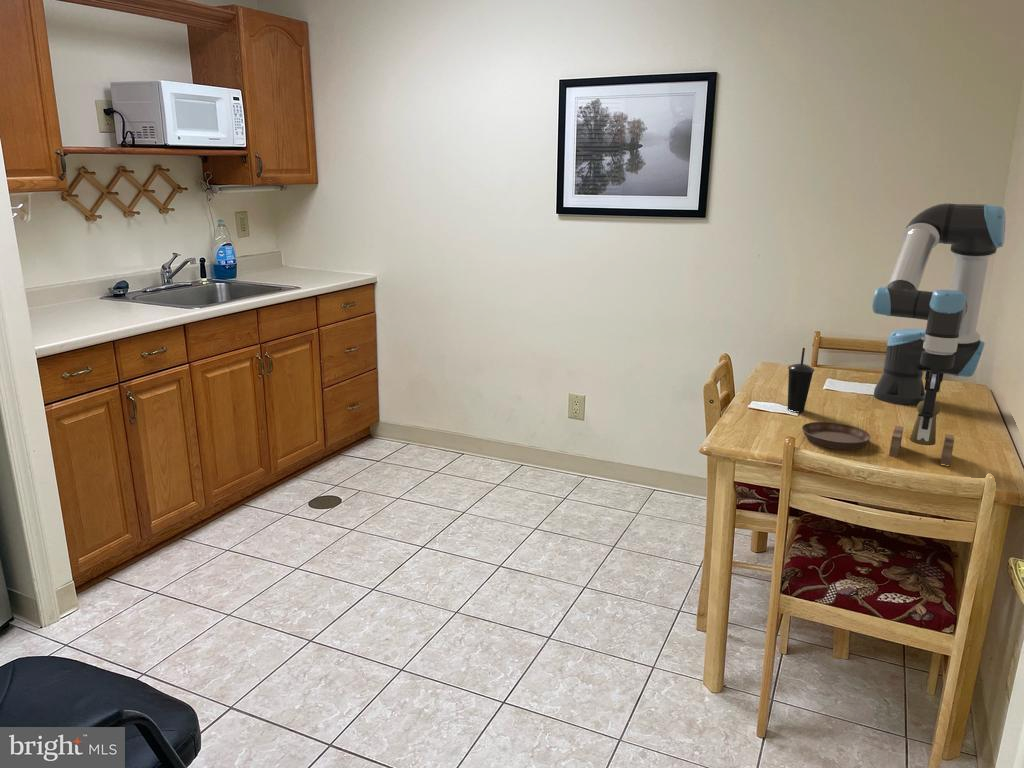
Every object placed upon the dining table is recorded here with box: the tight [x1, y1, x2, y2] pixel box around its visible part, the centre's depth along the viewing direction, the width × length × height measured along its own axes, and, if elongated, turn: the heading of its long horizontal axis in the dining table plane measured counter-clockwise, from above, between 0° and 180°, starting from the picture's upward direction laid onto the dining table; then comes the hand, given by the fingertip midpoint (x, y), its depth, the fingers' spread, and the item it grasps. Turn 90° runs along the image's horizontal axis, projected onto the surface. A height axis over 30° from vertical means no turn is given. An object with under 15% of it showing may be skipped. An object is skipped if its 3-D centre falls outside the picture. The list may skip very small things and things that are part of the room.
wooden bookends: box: [888, 425, 955, 465], centre depth 197 cm, size 10×14×6 cm
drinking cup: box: [787, 347, 815, 413], centre depth 231 cm, size 8×8×20 cm
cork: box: [909, 401, 941, 446], centre depth 196 cm, size 6×6×11 cm
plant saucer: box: [801, 421, 872, 450], centre depth 208 cm, size 18×18×3 cm
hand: (923, 437), depth 197 cm, fingers closed on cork, 4 cm apart
